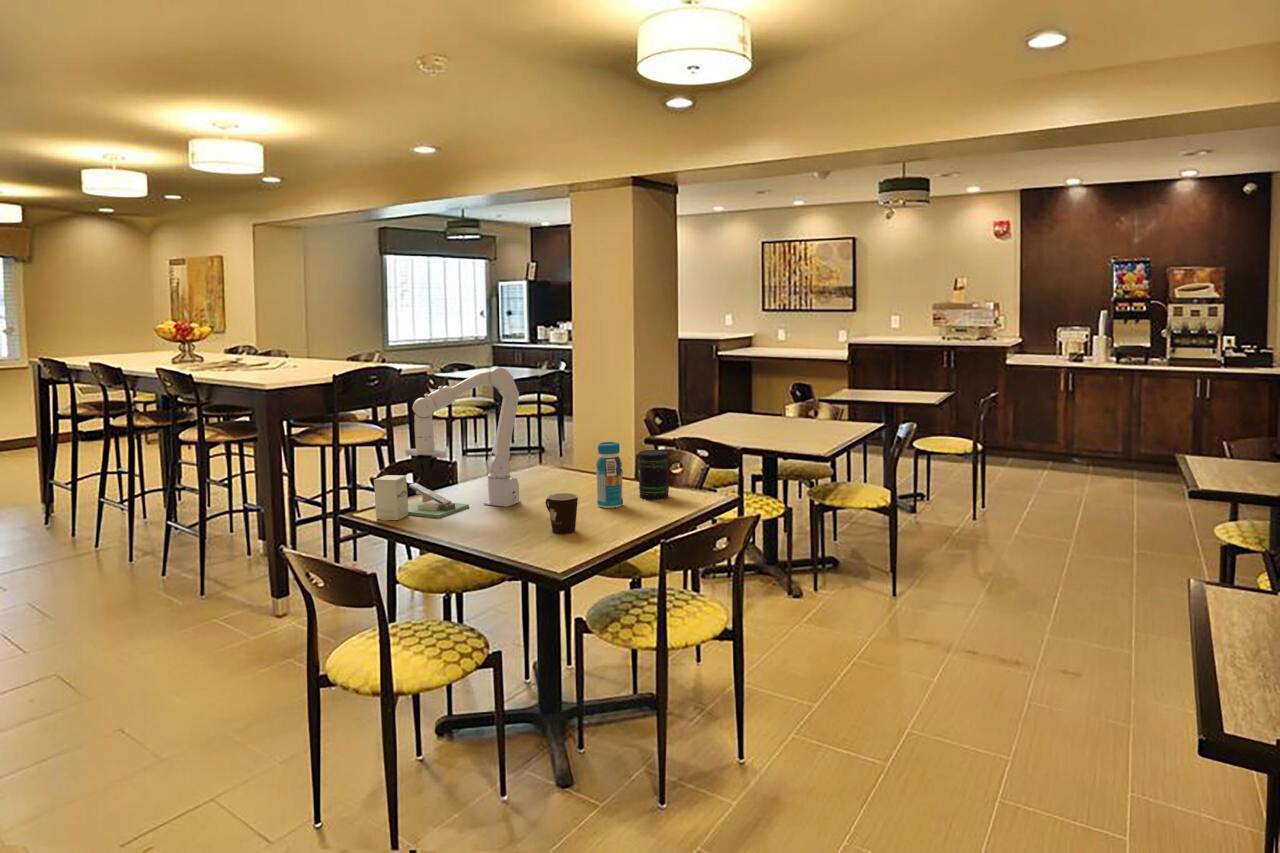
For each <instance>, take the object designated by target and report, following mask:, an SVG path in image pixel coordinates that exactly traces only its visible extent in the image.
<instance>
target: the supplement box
mask: <svg viewBox="0 0 1280 853" xmlns="http://www.w3.org/2000/svg"><path fill="white" fill-rule="evenodd" d="M407 483H408V482H407V475H401V474H400V475H398V474H396V475H393V474H391V475H389V474H387V475H383V476H380V477H377V478H376V479H373V487H374V489H373V490H374V505H375V520H376V519H381V520H380V521H387V520H398V521H400V520H401V519H403V518H405V517H407V516H409V515H408V505H409V502H408V501H409V499H408V484H407Z"/></svg>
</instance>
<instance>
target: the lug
mask: <svg viewBox="0 0 1280 853" xmlns="http://www.w3.org/2000/svg"><path fill="white" fill-rule="evenodd" d="M429 490H430V491H432V492H433V490H431V489H429ZM415 495H418V496H419V495H420V496H422V497H421V498H422V500H421V501H423V502H427V501H430V500H433V499H431V498H429V497H427V496H425V495H423V494H421V493H419V492H418V491H415Z"/></svg>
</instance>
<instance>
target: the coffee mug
mask: <svg viewBox="0 0 1280 853" xmlns="http://www.w3.org/2000/svg"><path fill="white" fill-rule="evenodd" d="M578 502H579V494H576V493H570V492H563V493H553V494H549V495H548V496H547V497H546V499H545V507H546V508H547V511H548V513H549V517H550V526H551V530H552V533H553V534H556V535H569V534H572V533H575V532H576V525H577V524H576V523H577V513H578V512H577V510H578Z"/></svg>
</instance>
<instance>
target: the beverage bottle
mask: <svg viewBox="0 0 1280 853" xmlns="http://www.w3.org/2000/svg"><path fill="white" fill-rule="evenodd" d="M597 453H598V455H599V457H598V459H597V460H596V464H595V466H596V471H595V476H596V492H597V493H596V495H597V498H596V499H597V500H596V504H597V506H598V507H600V508H602V507H603V509H615V507H616V508H620V507H621V506H623V504H624V499H623V498H624V496H623V473H624V472H623V471H624V470H623V469H622V466H623V462H622V459H621V458H620V457H619V454H620V443H619V442H617V441H604V442H599V443H598V444H597Z"/></svg>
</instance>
